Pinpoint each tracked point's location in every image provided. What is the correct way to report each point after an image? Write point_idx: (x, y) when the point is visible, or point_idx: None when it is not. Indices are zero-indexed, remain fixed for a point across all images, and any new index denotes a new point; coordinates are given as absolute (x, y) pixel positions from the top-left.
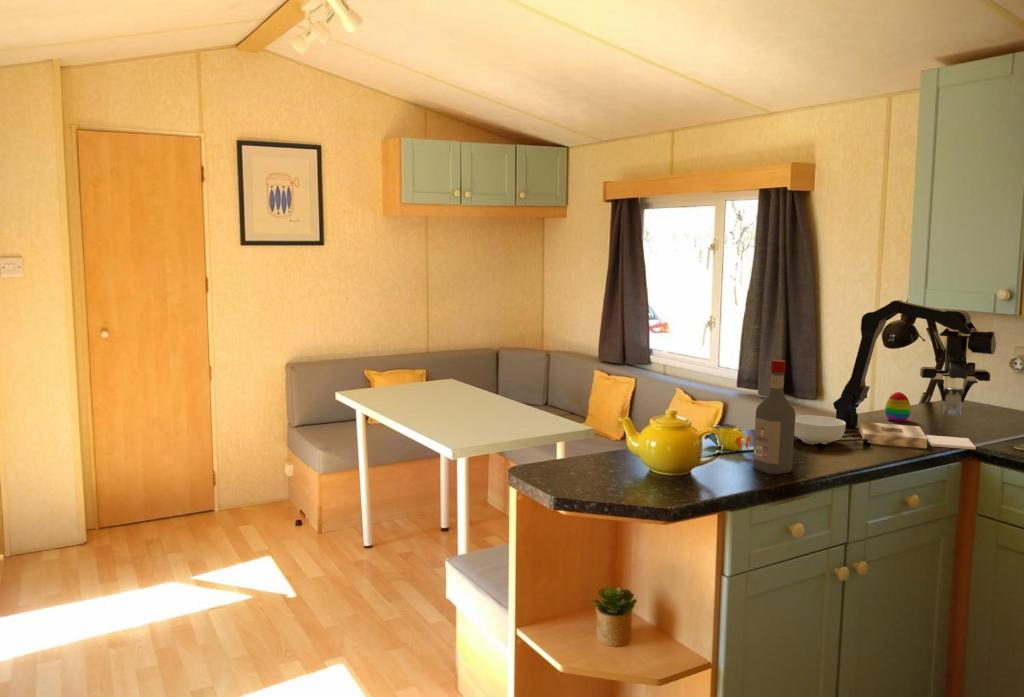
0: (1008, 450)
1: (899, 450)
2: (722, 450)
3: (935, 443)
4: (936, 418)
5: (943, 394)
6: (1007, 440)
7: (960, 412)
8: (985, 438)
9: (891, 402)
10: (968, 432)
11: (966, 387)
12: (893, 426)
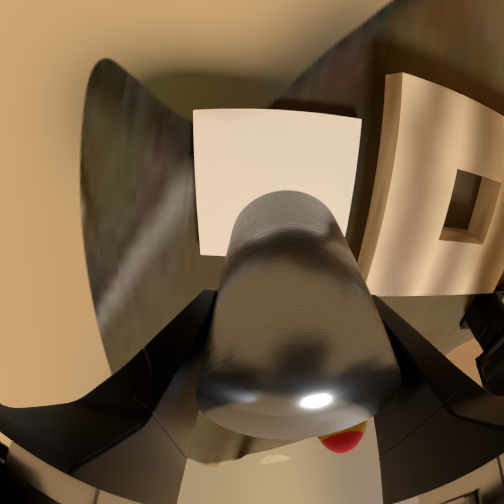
0: (95, 155)
1: (464, 45)
2: None
3: (348, 121)
4: None
5: (395, 329)
6: (104, 287)
7: (234, 228)
8: (152, 295)
9: (363, 424)
10: None
11: (139, 399)
12: (446, 266)
